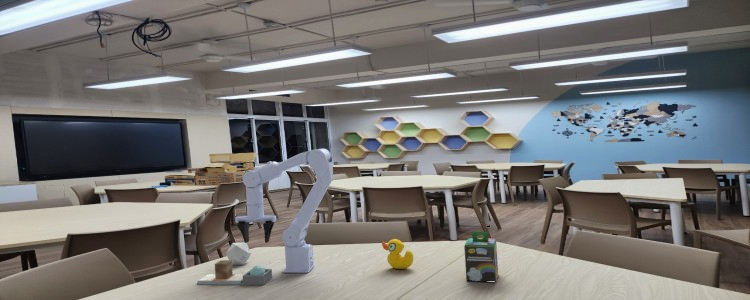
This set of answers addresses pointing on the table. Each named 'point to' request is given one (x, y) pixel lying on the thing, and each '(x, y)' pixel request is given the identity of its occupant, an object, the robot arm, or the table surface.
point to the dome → (257, 270)
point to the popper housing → (257, 278)
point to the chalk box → (481, 258)
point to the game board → (212, 280)
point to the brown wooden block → (223, 269)
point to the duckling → (394, 256)
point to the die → (238, 253)
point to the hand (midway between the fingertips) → (256, 242)
